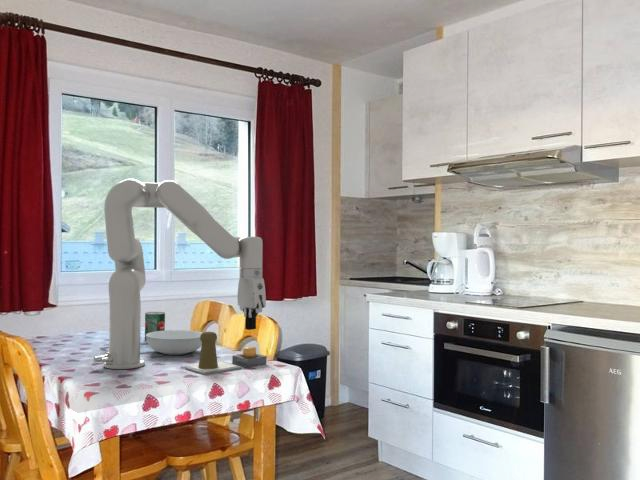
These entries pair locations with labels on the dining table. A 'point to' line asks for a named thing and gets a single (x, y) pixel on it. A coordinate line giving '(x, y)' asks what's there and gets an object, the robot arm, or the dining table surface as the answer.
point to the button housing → (249, 360)
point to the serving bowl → (174, 341)
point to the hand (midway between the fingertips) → (250, 329)
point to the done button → (249, 352)
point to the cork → (208, 351)
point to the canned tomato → (154, 322)
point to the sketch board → (221, 368)
